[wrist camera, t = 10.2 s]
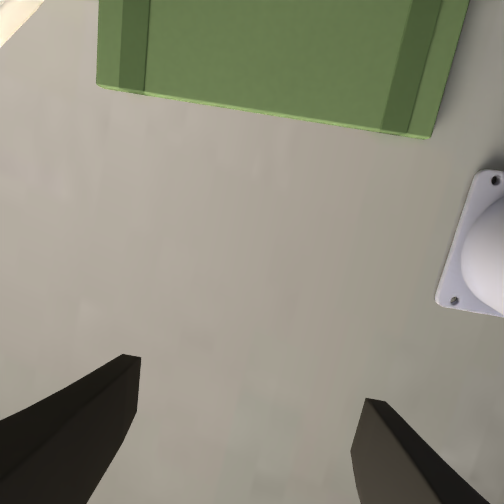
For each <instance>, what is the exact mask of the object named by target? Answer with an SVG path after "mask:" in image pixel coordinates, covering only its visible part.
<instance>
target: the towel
mask: <svg viewBox="0 0 504 504" xmlns="http://www.w3.org/2000/svg"><path fill="white" fill-rule="evenodd" d="M469 2H470V0H99V15H98V45H97V74H96V84H97V85H98V86H100V87H102V88H104V89H110V90H116V91H123V92H129V93H135V94H141V95H147V96H154V97H160V98H167V99H173V100H179V101H185V102H192V103H198V104H204V105H210V106H217V107H223V108H229V109H236V110H242V111H248V112H254V113H261V114H267V115H273V116H279V117H286V118H292V119H298V120H304V121H311V122H317V123H323V124H329V125H336V126H342V127H348V128H355V129H361V130H367V131H373V132H379V133H385V134H392V135H398V136H405V137H411V138H417V139H423V140H424V139H428V138H431V135H432V132H433V128H434V125H435V121H436V118H437V114H438V111H439V107H440V104H441V100H442V97H443V93H444V89H445V86H446V82H447V79H448V75H449V72H450V68H451V65H452V61H453V58H454V54H455V51H456V47H457V44H458V40H459V37H460V33H461V30H462V26H463V23H464V19H465V16H466V12H467V9H468V5H469Z"/></svg>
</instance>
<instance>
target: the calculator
mask: <svg viewBox="0 0 504 504" xmlns="http://www.w3.org/2000/svg"><path fill="white" fill-rule="evenodd" d="M43 2H44V0H0V47H1V46H2V45H3V44H4V43H5V42H6V41H7V40H8V39H9V38H10V37H11V36H12V35H13V34H14V33H15V32H16V31H17V30H18V29H19V28H20V27H21V26H22V25H23V24H24V23H25V22H26V21H27V20H28V19H29V18H30V17H31V16H32V15H33V14H34V12H35V11H36V10H37V9H38V8H39V7H40V6H41V4H42V3H43Z"/></svg>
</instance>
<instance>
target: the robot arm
mask: <svg viewBox="0 0 504 504" xmlns="http://www.w3.org/2000/svg"><path fill="white" fill-rule="evenodd" d="M494 176H496V178H497V181H496V183H495V184H492V183H491V179H492V178H493V177H494ZM453 297H456V300H455V301H454V302H450V300H451V298H453ZM435 301H436V302H437V303H438V304H439V305H440V306H443V307H448V308H453V309H459V310H465V311H470V312H476V313H482V314H487V315H493V316H499V317H504V171H498V170H492V169H482V170H479V171H478V172H477V173H476V174H475V176H474V178H473V181H472V184H471V187H470V190H469V193H468V196H467V199H466V202H465V205H464V208H463V211H462V215H461V218H460V221H459V224H458V227H457V230H456V233H455V236H454V239H453V242H452V245H451V248H450V251H449V254H448V258H447V261H446V264H445V267H444V270H443V273H442V276H441V279H440V282H439V285H438V288H437V291H436V294H435ZM140 367H141V357H136V356H131V355H125V354H122V355H120V356H118V357H117V358H115V359H113V360H111V361H110V362H108V363H106V364H105V365H103V366H101V367H100V368H98V369H96V370H95V371H93V372H91V373H90V374H88V375H86V376H85V377H83V378H81V379H79V380H78V381H76V382H74V383H72V384H71V385H69V386H67V387H66V388H64V389H62V390H60V391H58V392H56V393H54V394H52V395H51V396H49V397H47V398H45V399H43V400H41V401H39V402H37V403H35V404H34V405H32V406H30V407H28V408H26V409H24V410H22V411H20V412H18V413H15V414H13V415H11V416H9V417H7V418H5V419H3V420H0V504H86V503H87V502H88V500H89V498H90V497H91V495H92V493H93V492H94V490H95V488H96V487H97V485H98V483H99V482H100V480H101V478H102V477H103V475H104V473H105V472H106V470H107V468H108V467H109V465H110V463H111V462H112V460H113V458H114V457H115V455H116V453H117V451H118V450H119V448H120V446H121V445H122V443H123V441H124V438H125V436H126V434H127V432H128V430H129V428H130V425H131V423H132V421H133V419H134V416H135V414H136V412H137V403H138V391H139V379H140ZM351 457H352V464H353V471H354V476H355V482H356V487H357V491H358V495H359V499H360V502H361V504H490V503H489V502H488V501H486V500H485V499H484V498H483V497H482V496H481V495H480V494H479V493H478V492H477V491H475V490H474V489H473V488H472V487H471V486H470V485H469V484H468V483H467V482H466V481H465V480H464V479H463V478H462V477H460V476H459V475H458V474H457V473H456V472H455V471H454V470H453V469H452V468H451V467H450V466H449V465H448V464H447V463H446V462H445V461H444V460H443V459H442V458H441V457H440V456H439V455H438V454H437V453H436V452H435V451H434V450H433V449H432V448H431V447H430V446H429V445H428V444H427V443H426V442H425V441H424V440H423V439H422V438H421V437H420V436H419V435H418V434H417V433H416V432H415V431H414V430H413V429H412V428H411V427H410V426H409V424H408V423H407V422H406V421H405V420H404V419H403V418H402V417H401V416H400V415H399V414H398V413H397V412H396V411H395V410H394V409H393V408H392V407H391V406H390V405H389V404H388V403H386V402H385V401H380V400H375V399H369V398H366V399H365V402H364V406H363V409H362V413H361V416H360V420H359V423H358V427H357V430H356V433H355V437H354V440H353V444H352V447H351Z"/></svg>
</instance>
